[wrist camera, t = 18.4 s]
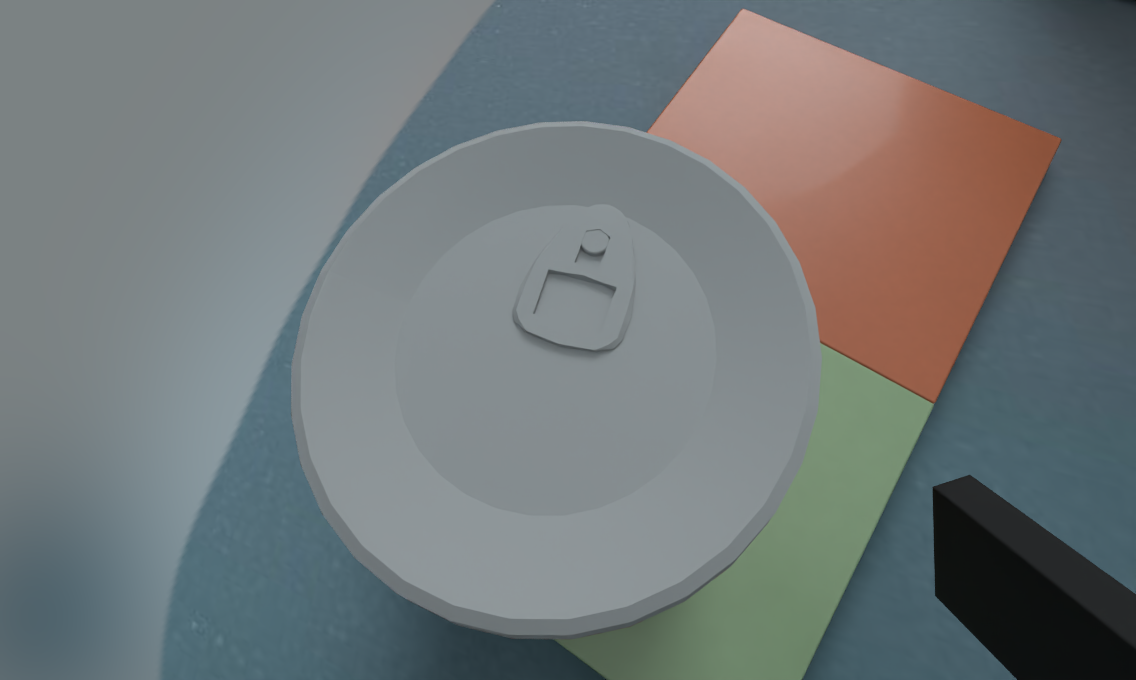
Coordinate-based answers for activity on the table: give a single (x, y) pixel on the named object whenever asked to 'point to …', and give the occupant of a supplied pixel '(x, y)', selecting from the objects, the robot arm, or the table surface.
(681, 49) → the table surface
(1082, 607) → the robot arm
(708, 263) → the canned food
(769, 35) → the board
